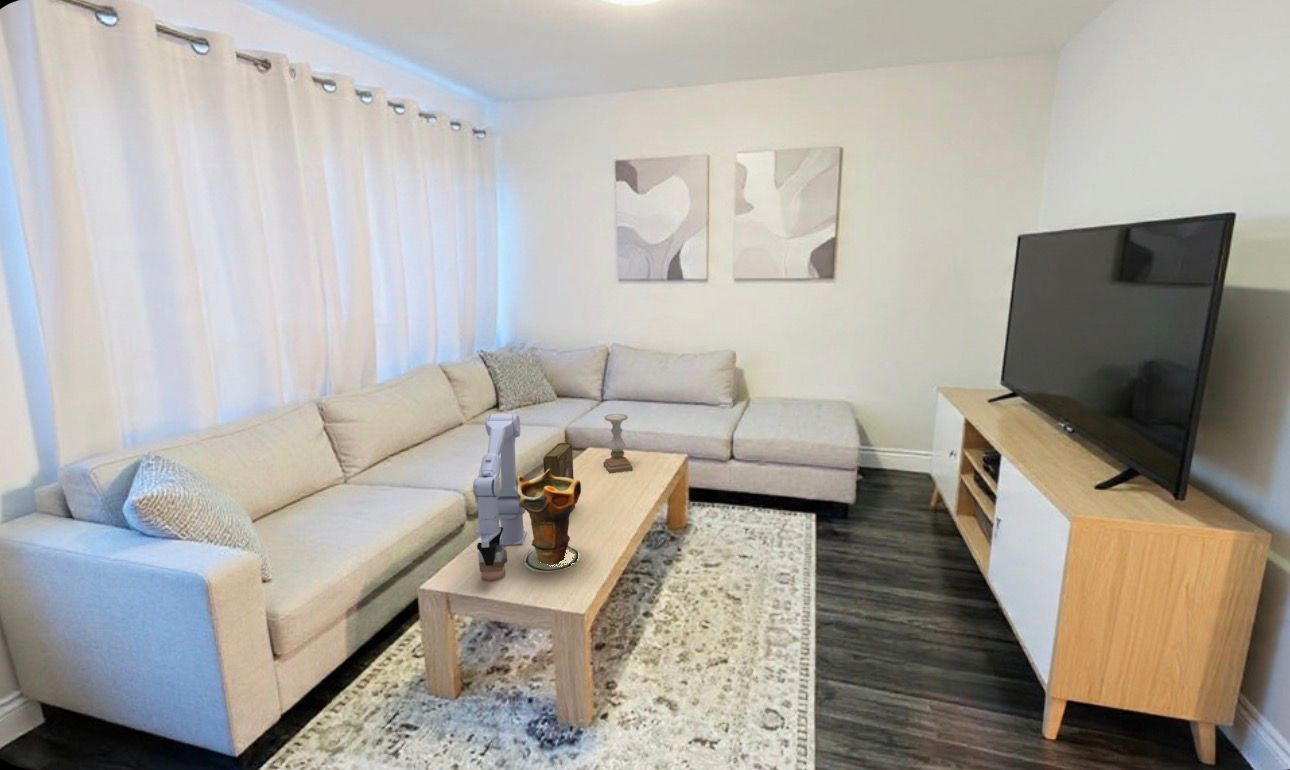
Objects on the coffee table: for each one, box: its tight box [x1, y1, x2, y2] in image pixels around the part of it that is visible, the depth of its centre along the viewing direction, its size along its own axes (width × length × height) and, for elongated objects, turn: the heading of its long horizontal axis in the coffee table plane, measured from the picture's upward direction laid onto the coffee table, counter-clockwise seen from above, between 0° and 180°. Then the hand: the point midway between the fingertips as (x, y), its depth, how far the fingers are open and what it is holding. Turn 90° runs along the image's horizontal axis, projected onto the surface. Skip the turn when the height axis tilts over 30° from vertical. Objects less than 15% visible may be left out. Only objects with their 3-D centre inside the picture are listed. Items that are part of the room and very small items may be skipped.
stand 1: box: [480, 564, 507, 583], centre depth 179 cm, size 7×7×2 cm
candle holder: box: [603, 413, 633, 474], centre depth 267 cm, size 11×11×24 cm
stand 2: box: [504, 548, 508, 563], centre depth 188 cm, size 7×7×2 cm
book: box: [543, 442, 576, 513], centre depth 219 cm, size 16×6×25 cm, turn 168°
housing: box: [478, 545, 506, 573], centre depth 179 cm, size 4×6×6 cm
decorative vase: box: [515, 468, 582, 574], centre depth 187 cm, size 21×23×28 cm
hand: (492, 558), depth 179 cm, fingers open, 7 cm apart
